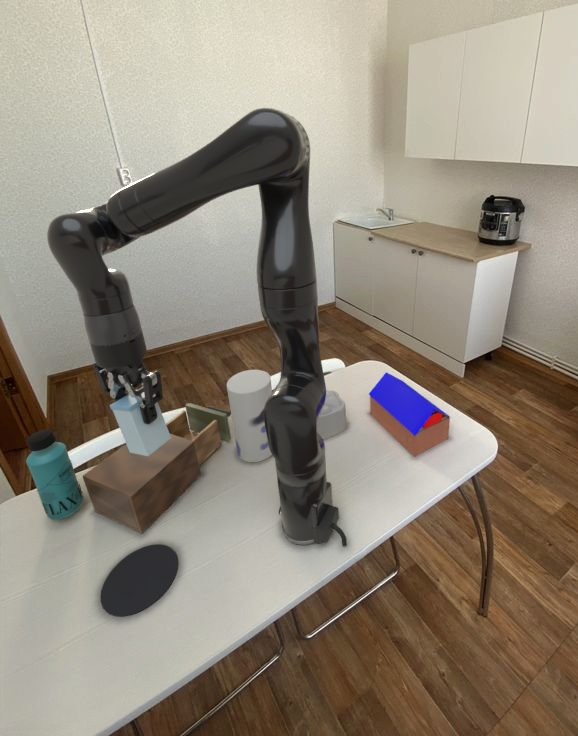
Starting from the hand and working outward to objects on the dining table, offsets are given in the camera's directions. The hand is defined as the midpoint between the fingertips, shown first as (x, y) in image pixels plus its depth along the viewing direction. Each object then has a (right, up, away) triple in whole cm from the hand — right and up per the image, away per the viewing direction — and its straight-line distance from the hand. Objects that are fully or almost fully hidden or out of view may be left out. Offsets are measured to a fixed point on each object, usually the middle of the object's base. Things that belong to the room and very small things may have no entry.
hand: (138, 416), depth 69 cm
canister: (+1, -6, +2) cm, 6 cm away
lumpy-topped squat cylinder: (+29, -14, +35) cm, 48 cm away
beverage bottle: (-21, -24, +11) cm, 34 cm away
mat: (+1, -28, -2) cm, 28 cm away
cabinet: (-6, -22, +16) cm, 27 cm away
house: (+53, -14, +35) cm, 65 cm away
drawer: (-1, -16, +27) cm, 32 cm away
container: (+14, -17, +28) cm, 36 cm away
